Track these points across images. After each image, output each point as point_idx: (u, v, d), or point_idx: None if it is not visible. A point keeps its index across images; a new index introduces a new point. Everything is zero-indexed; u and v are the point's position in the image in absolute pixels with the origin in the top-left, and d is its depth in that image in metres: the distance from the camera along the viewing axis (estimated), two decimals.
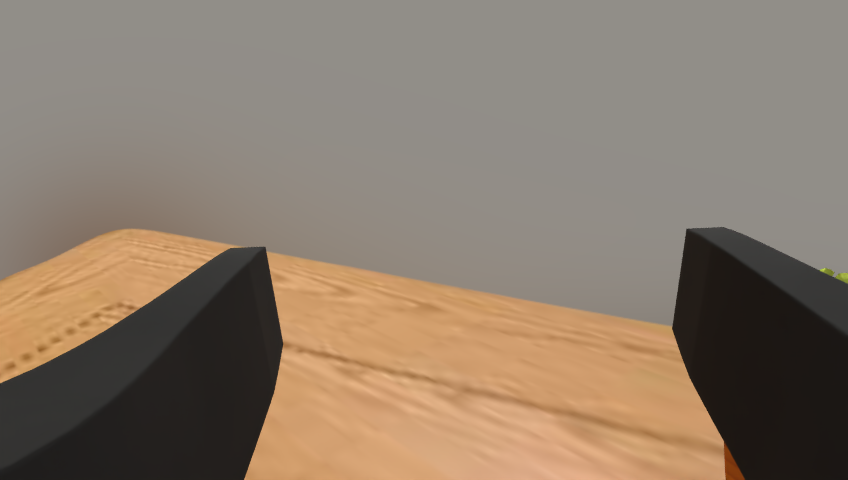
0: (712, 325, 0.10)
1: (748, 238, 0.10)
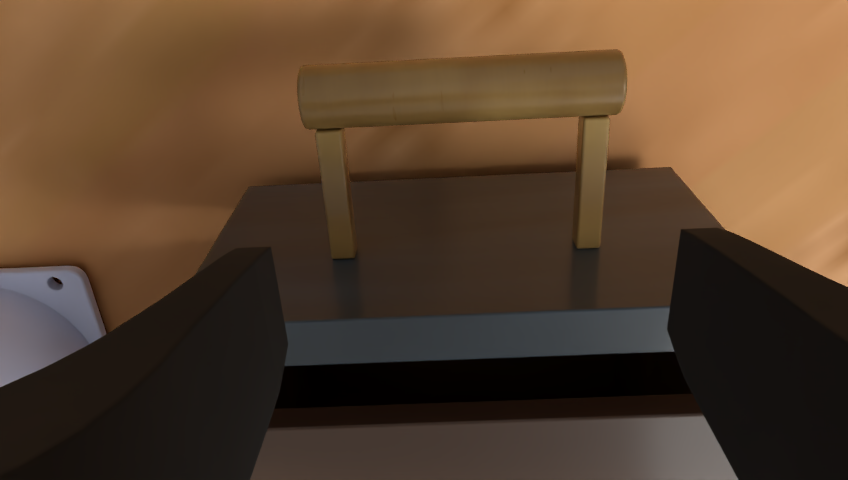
0: (706, 325, 0.10)
1: (741, 238, 0.10)
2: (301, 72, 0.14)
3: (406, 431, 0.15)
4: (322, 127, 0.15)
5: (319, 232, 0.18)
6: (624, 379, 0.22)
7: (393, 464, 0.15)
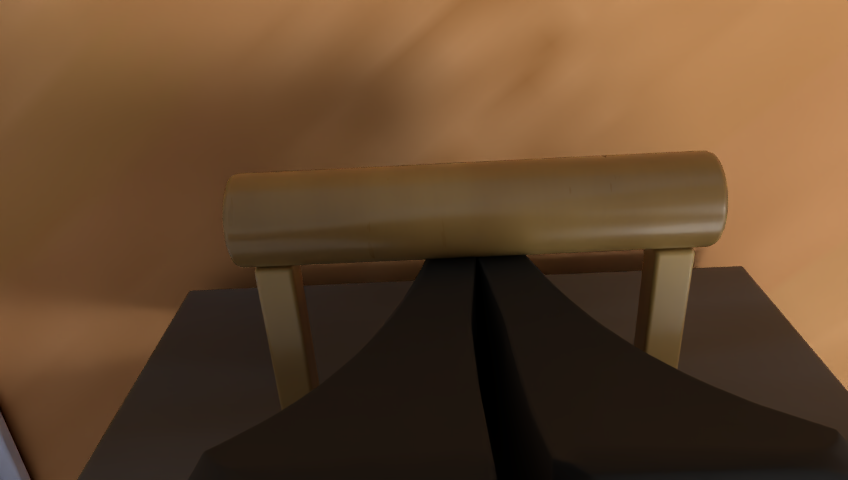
0: (481, 334, 0.10)
1: None
2: (229, 189, 0.09)
3: None
4: (264, 265, 0.10)
5: (273, 378, 0.13)
6: None
7: None
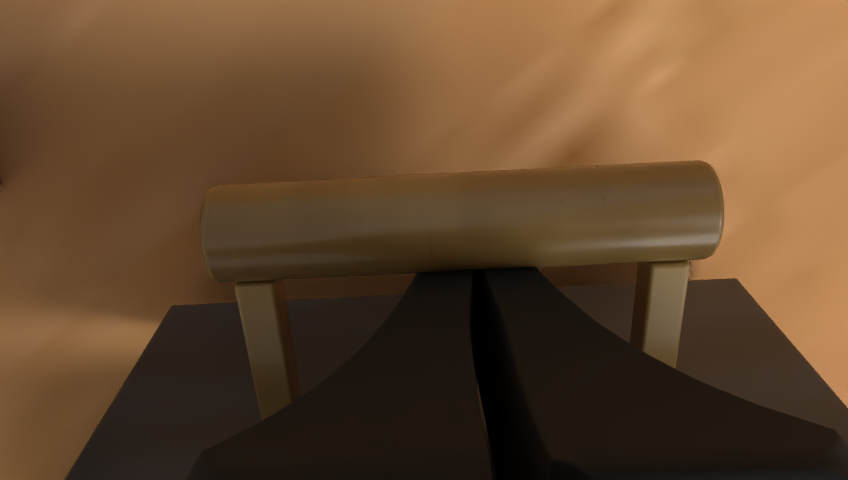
0: (480, 334, 0.10)
1: None
2: (207, 200, 0.09)
3: None
4: (244, 280, 0.10)
5: (257, 396, 0.13)
6: None
7: None
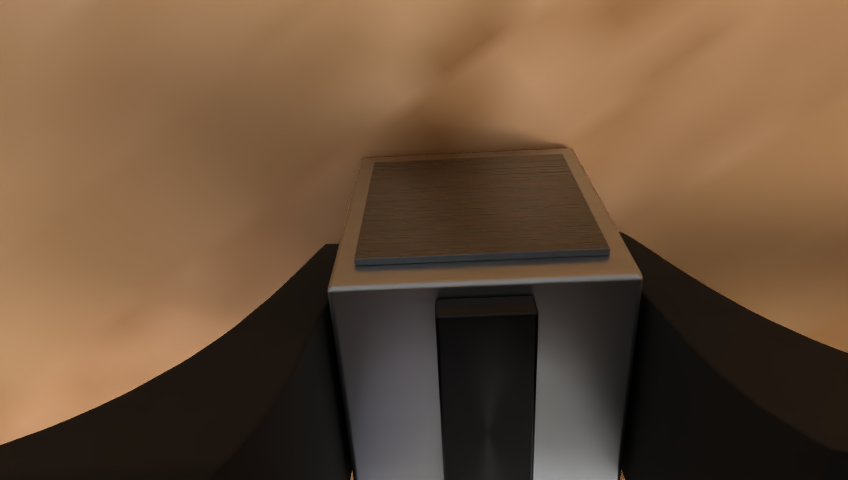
0: None
1: (636, 243, 0.10)
2: None
3: None
4: None
5: None
6: None
7: None
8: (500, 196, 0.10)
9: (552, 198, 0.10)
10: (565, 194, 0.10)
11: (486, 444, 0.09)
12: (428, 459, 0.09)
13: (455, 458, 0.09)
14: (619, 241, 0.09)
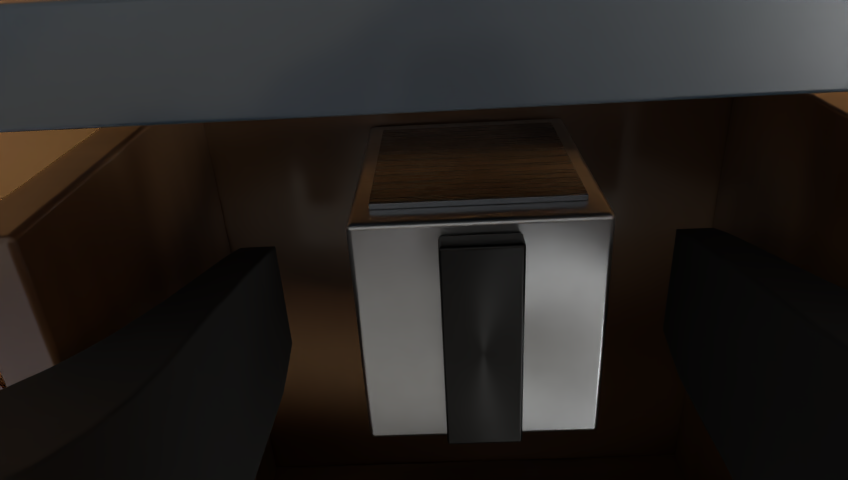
0: (701, 325, 0.10)
1: (737, 238, 0.10)
2: None
3: None
4: None
5: None
6: None
7: None
8: (495, 155, 0.11)
9: (540, 157, 0.11)
10: (552, 153, 0.11)
11: (482, 364, 0.10)
12: (431, 382, 0.11)
13: (455, 377, 0.10)
14: (597, 190, 0.10)
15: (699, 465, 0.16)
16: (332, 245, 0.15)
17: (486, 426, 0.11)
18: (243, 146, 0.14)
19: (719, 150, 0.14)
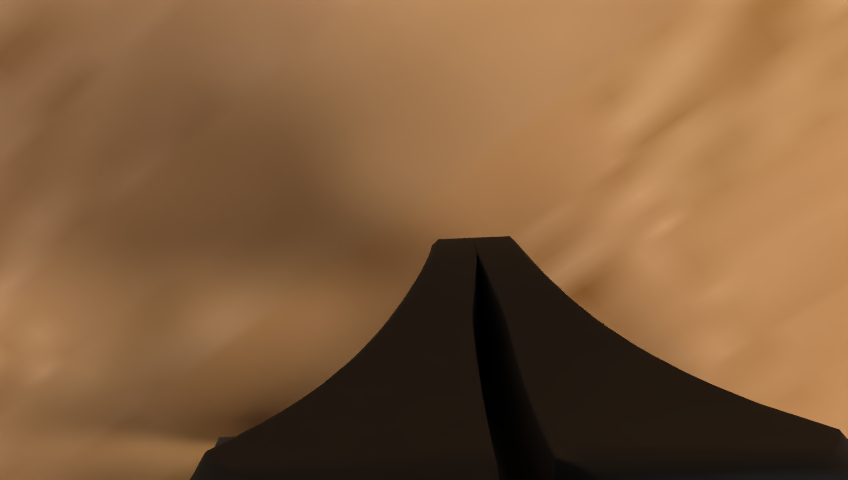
0: (482, 334, 0.10)
1: (516, 248, 0.10)
2: None
3: None
4: None
5: None
6: None
7: None
8: None
9: None
10: None
11: None
12: None
13: None
14: None
15: None
16: None
17: None
18: None
19: None
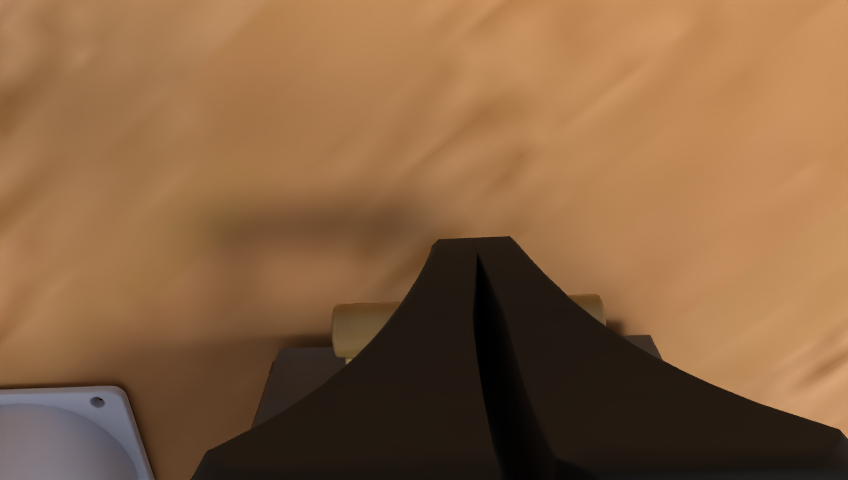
0: (482, 334, 0.10)
1: (516, 248, 0.10)
2: (334, 317, 0.17)
3: None
4: (351, 356, 0.18)
5: None
6: None
7: None
8: None
9: None
10: None
11: None
12: None
13: None
14: None
15: None
16: None
17: None
18: None
19: None
